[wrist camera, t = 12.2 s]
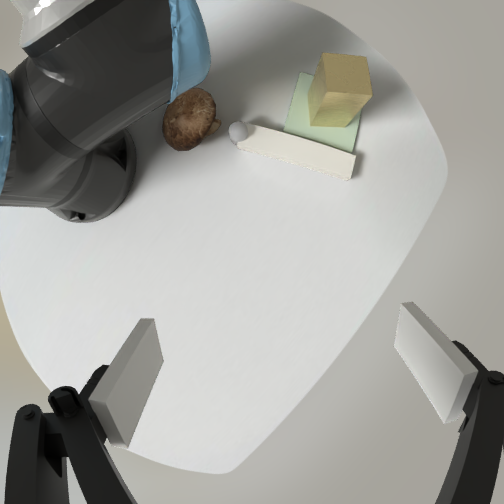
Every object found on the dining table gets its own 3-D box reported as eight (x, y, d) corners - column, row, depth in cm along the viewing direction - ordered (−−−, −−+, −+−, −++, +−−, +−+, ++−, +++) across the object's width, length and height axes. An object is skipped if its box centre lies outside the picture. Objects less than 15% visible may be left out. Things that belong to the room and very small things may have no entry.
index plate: (282, 132, 37) (283, 130, 36) (299, 73, 36) (300, 71, 35) (350, 153, 37) (352, 152, 36) (363, 94, 36) (364, 93, 35)
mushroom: (245, 117, 34) (205, 99, 29) (208, 169, 37) (167, 159, 33) (214, 89, 37) (177, 73, 32) (183, 136, 41) (145, 126, 36)
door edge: (228, 146, 37) (225, 139, 34) (234, 124, 37) (232, 116, 34) (346, 180, 37) (353, 177, 34) (351, 158, 37) (359, 153, 34)
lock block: (309, 126, 36) (327, 91, 25) (307, 94, 36) (322, 52, 25) (344, 127, 36) (372, 95, 25) (341, 96, 36) (366, 56, 25)
